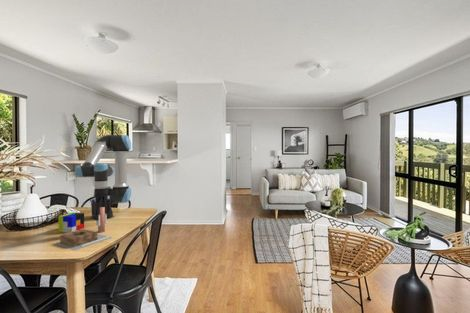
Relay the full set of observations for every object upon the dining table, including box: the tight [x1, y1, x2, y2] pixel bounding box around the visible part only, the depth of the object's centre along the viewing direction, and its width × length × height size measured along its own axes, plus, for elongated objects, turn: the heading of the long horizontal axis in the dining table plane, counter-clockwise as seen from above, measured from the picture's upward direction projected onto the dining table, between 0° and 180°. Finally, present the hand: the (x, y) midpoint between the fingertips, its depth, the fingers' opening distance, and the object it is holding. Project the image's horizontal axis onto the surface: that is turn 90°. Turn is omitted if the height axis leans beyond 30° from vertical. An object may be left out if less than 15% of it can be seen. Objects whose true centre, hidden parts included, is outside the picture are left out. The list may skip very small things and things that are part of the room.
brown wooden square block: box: [59, 228, 98, 247], centre depth 142 cm, size 13×13×4 cm
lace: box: [81, 236, 110, 246], centre depth 142 cm, size 16×1×1 cm, turn 153°
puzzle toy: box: [58, 212, 85, 233], centre depth 166 cm, size 10×10×10 cm
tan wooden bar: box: [97, 207, 106, 234], centre depth 160 cm, size 4×4×16 cm
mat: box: [53, 233, 113, 251], centre depth 144 cm, size 22×20×1 cm
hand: (101, 224), depth 160 cm, fingers closed on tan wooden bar, 4 cm apart
